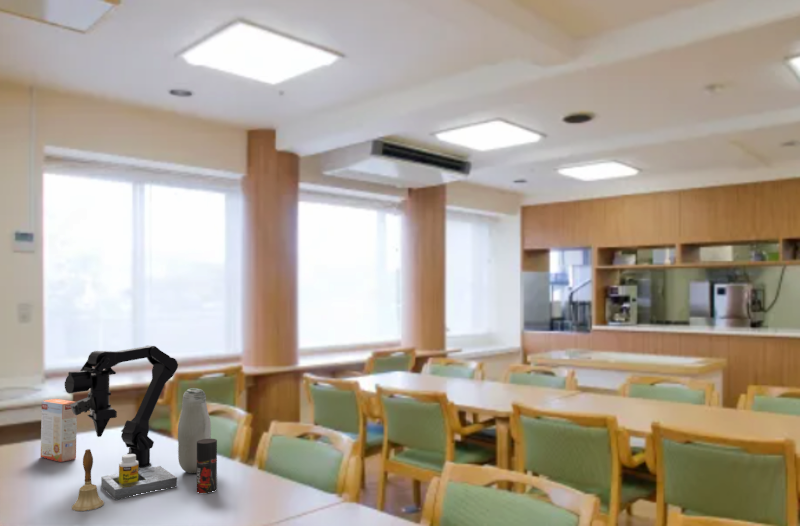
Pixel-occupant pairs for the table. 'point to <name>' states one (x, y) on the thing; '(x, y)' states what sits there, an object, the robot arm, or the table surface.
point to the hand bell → (88, 488)
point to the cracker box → (58, 430)
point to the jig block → (139, 482)
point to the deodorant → (206, 465)
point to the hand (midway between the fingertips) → (99, 436)
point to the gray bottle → (192, 428)
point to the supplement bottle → (128, 469)
